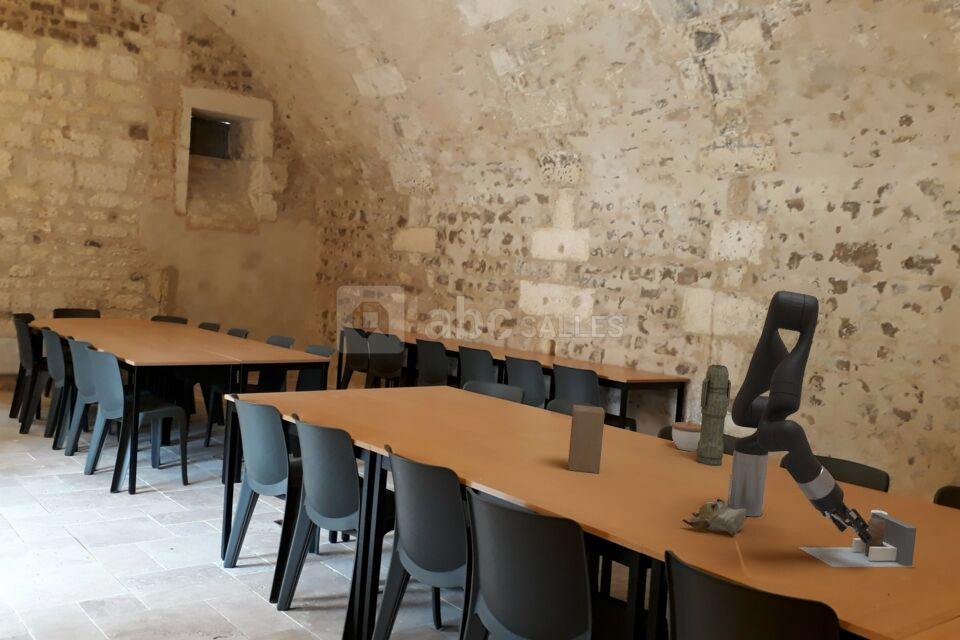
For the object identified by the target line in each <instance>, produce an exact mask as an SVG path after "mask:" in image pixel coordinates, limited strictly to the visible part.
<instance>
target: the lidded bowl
mask: <svg viewBox="0 0 960 640" xmlns="http://www.w3.org/2000/svg"><path fill="white" fill-rule="evenodd" d="M671 424H672V425H671V428H672V429H671V437H672V441H673V443H674V445H675V447H676V448H677V449H678V450H681V451H687V452H697V447H698V442H699V440H700V432H701V424H697V423H694V422H693V423H692V420H689V419H688V420H687V422H684V421H683V422H673V423H671Z"/></svg>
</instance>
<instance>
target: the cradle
mask: <svg viewBox="0 0 960 640" xmlns="http://www.w3.org/2000/svg"><path fill="white" fill-rule="evenodd" d="M851 547H852V551H853V552H865V551H866V543H864V542H863V541H862V540H861V539H860V537H857V538H856V537H855V538H852V543H851ZM896 553H897V548H896V547H894V546H891V545H889V544H887V543H885V542H883V546H882V547H869V556H868V559H869V560H871V561H896Z"/></svg>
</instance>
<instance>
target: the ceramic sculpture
mask: <svg viewBox="0 0 960 640" xmlns="http://www.w3.org/2000/svg"><path fill="white" fill-rule="evenodd" d="M691 515H692V516H693V517H691V518H689V519H682V520H681V521H682V523H685V524H687V525H688V526H690V527H692V528H695V529H699V530H700V529H705V530H708V531H711V532H721V531H723V532H724V531H725V532H728V534H730V536H736V534H735V533H739V532H740V531H741V528H742V526H743V525H744V523H745V520H746V519H745V518H746V517H747V516H746V509H737V510H734V509H731V508H729V506H728V502H725V501H724V500H722V499H720V498H717V499H716V501H715V502H713V501H708V502H705V503H703V504H702V505H701V506H700V507H699V510H698V512H691Z"/></svg>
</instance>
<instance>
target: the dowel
mask: <svg viewBox="0 0 960 640" xmlns="http://www.w3.org/2000/svg"><path fill="white" fill-rule="evenodd" d="M868 519H869V525H868V526H869V528H868V533H869V534H870V535H871V537H872V539H871V540H870V541H869V542H868V543H867V544H866V551H865V556H866V557H868V556H869V547H882V546H883V538H884V529H885V521H884V520H882V519H878V518H870V517H869V518H868Z"/></svg>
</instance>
